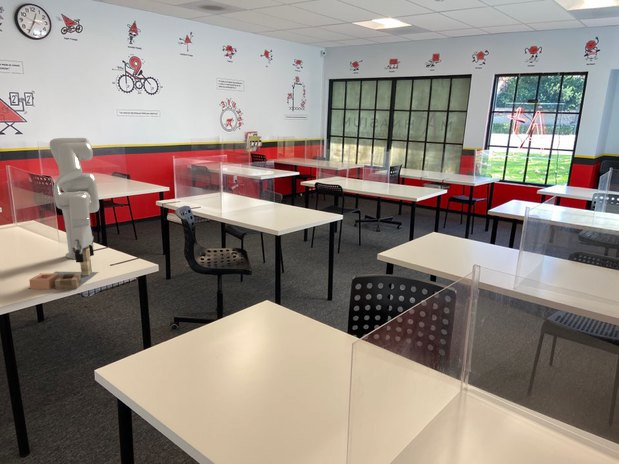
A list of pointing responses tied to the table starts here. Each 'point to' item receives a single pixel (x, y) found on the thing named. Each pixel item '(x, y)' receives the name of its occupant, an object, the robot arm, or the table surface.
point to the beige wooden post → (86, 262)
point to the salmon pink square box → (43, 281)
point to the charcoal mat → (83, 278)
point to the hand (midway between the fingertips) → (85, 258)
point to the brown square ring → (68, 281)
